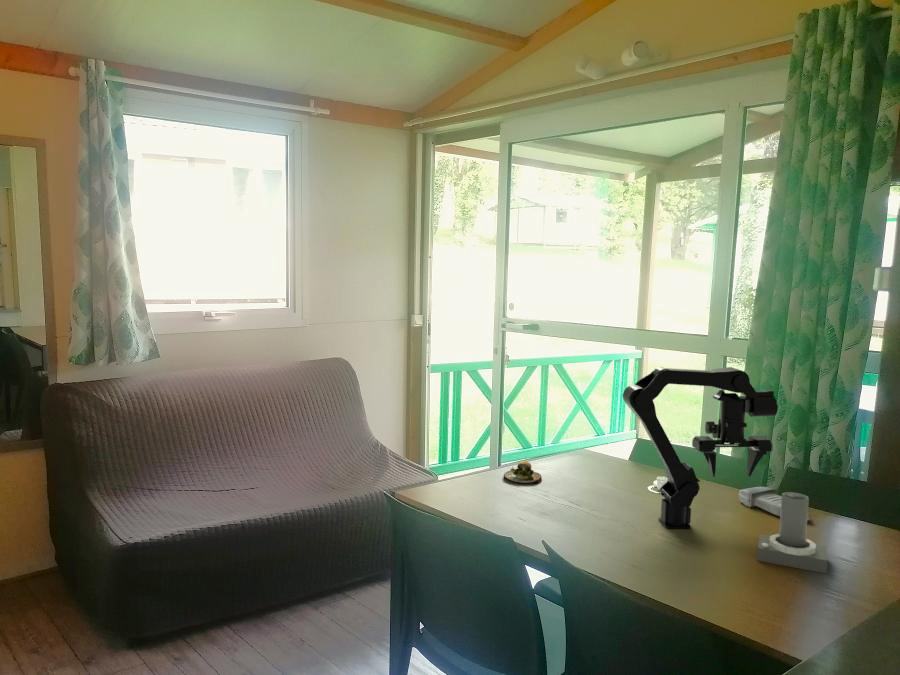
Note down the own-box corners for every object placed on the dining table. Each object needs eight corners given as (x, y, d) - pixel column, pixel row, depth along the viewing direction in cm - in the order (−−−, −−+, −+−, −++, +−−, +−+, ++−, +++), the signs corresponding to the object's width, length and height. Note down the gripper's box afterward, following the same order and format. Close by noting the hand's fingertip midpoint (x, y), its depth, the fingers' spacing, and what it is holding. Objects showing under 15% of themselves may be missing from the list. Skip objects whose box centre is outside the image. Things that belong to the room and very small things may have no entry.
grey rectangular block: (756, 560, 156) (757, 543, 155) (759, 546, 164) (760, 529, 164) (826, 574, 149) (827, 555, 149) (825, 558, 158) (826, 540, 157)
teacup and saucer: (653, 484, 212) (654, 471, 212) (679, 489, 208) (680, 476, 207) (643, 491, 205) (644, 478, 205) (670, 497, 201) (670, 483, 200)
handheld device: (797, 527, 178) (798, 509, 177) (734, 503, 196) (735, 487, 195) (822, 521, 182) (823, 504, 182) (758, 498, 200) (758, 483, 200)
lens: (780, 549, 155) (783, 497, 154) (777, 540, 160) (780, 490, 159) (809, 553, 153) (812, 500, 152) (804, 544, 158) (808, 493, 157)
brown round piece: (495, 479, 214) (496, 456, 214) (520, 472, 222) (521, 450, 222) (524, 489, 206) (525, 465, 205) (549, 481, 214) (550, 458, 213)
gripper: (755, 410, 183) (753, 466, 185) (685, 410, 183) (684, 467, 185) (774, 419, 172) (772, 479, 174) (700, 419, 172) (699, 480, 174)
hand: (730, 476), depth 177 cm, fingers open, 9 cm apart
